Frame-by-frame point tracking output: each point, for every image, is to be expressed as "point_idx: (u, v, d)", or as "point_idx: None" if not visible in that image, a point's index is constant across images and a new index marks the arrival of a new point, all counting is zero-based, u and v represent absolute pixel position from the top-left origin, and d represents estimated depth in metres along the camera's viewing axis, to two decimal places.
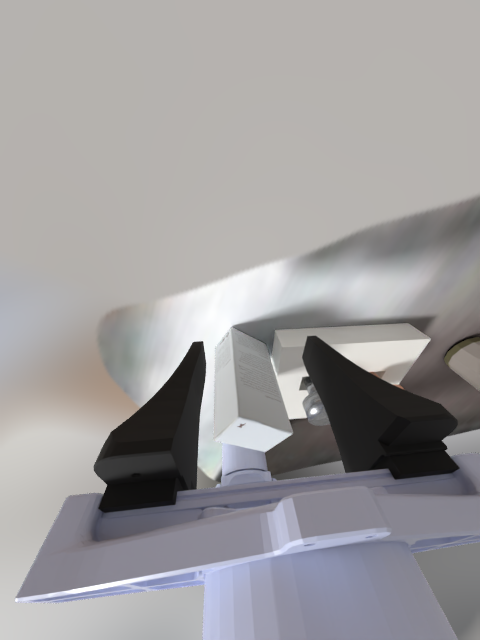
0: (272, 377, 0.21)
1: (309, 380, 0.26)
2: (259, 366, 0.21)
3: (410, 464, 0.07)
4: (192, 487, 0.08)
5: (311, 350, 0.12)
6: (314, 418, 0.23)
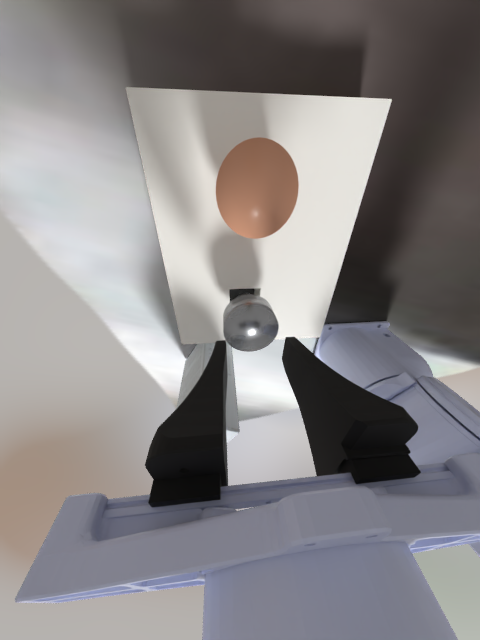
0: (199, 370, 0.20)
1: None
2: (192, 374, 0.21)
3: (371, 468, 0.07)
4: (226, 483, 0.08)
5: (289, 351, 0.12)
6: (255, 343, 0.16)
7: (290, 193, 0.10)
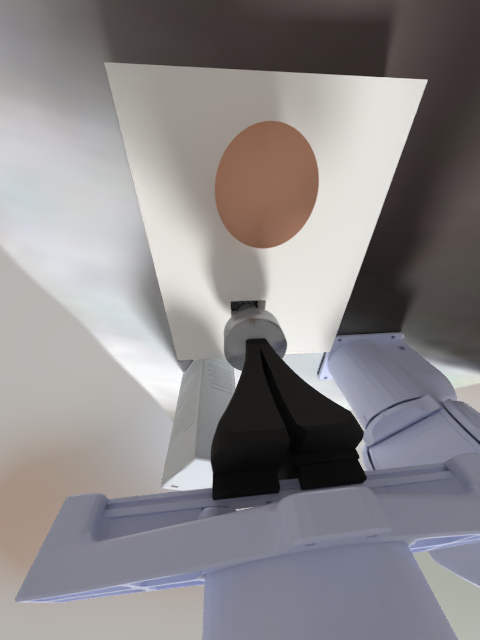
0: (197, 390, 0.18)
1: None
2: (189, 393, 0.19)
3: (317, 474, 0.07)
4: None
5: None
6: None
7: (308, 193, 0.08)
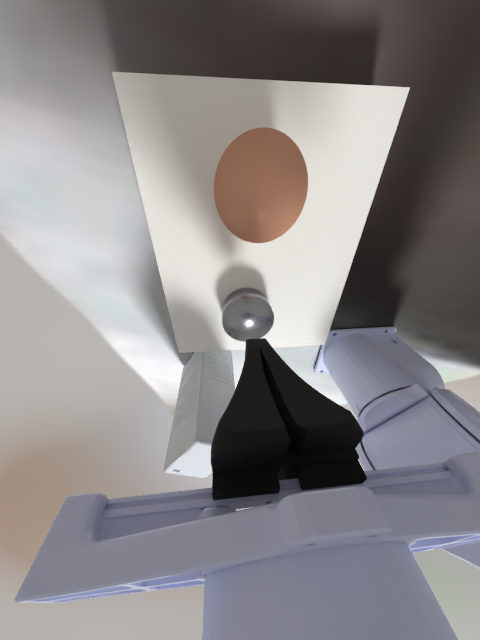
0: (197, 381, 0.19)
1: None
2: (190, 384, 0.20)
3: (317, 474, 0.07)
4: None
5: None
6: (252, 334, 0.17)
7: (299, 192, 0.09)
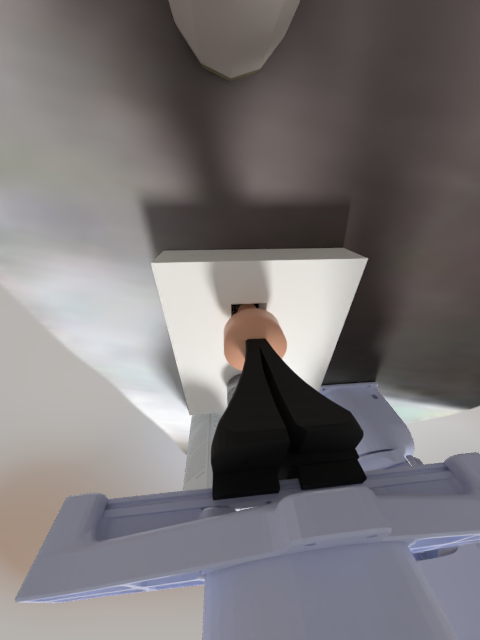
0: (205, 441, 0.23)
1: None
2: (199, 441, 0.24)
3: (317, 474, 0.07)
4: None
5: None
6: None
7: (281, 348, 0.13)
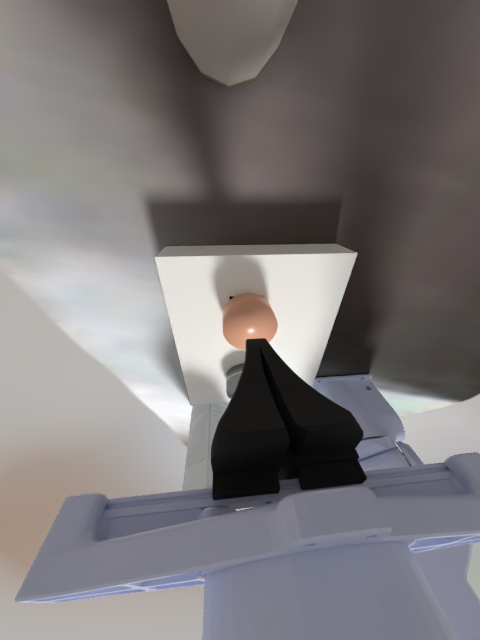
0: (205, 430, 0.24)
1: None
2: (199, 430, 0.25)
3: (317, 474, 0.07)
4: None
5: None
6: None
7: (272, 327, 0.15)
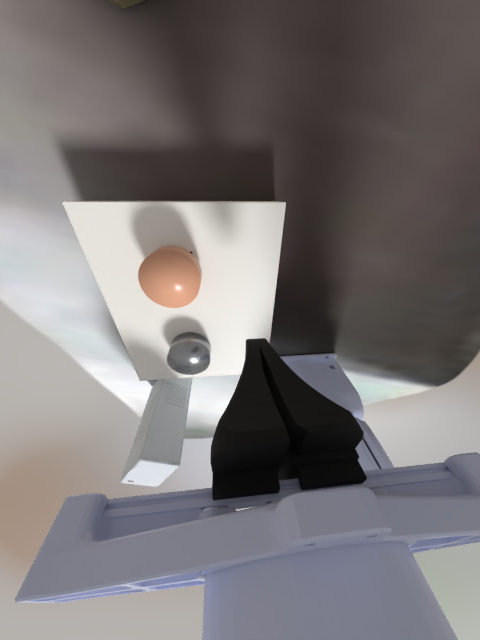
0: (153, 405, 0.23)
1: None
2: (150, 406, 0.24)
3: (317, 474, 0.07)
4: None
5: None
6: (194, 369, 0.21)
7: (194, 281, 0.14)
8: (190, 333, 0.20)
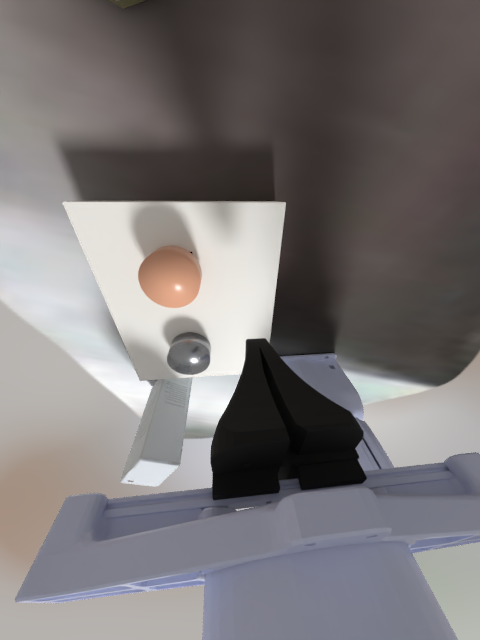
0: (153, 405, 0.23)
1: None
2: (150, 406, 0.24)
3: (317, 474, 0.07)
4: None
5: None
6: (194, 369, 0.21)
7: (194, 281, 0.14)
8: (190, 333, 0.20)
